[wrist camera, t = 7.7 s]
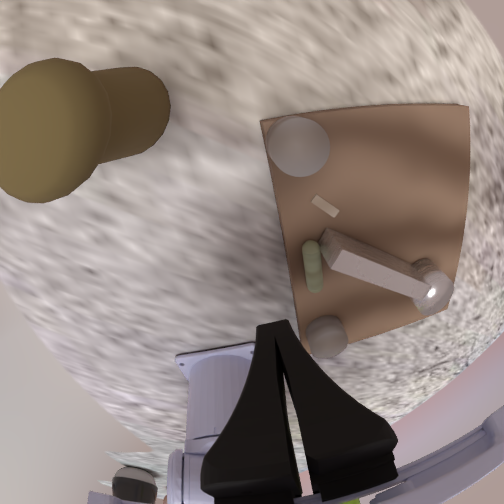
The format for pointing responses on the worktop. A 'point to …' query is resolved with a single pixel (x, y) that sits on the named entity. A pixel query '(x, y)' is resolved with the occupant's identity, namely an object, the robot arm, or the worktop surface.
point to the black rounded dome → (134, 485)
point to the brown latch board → (367, 207)
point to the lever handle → (388, 271)
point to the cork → (73, 124)
